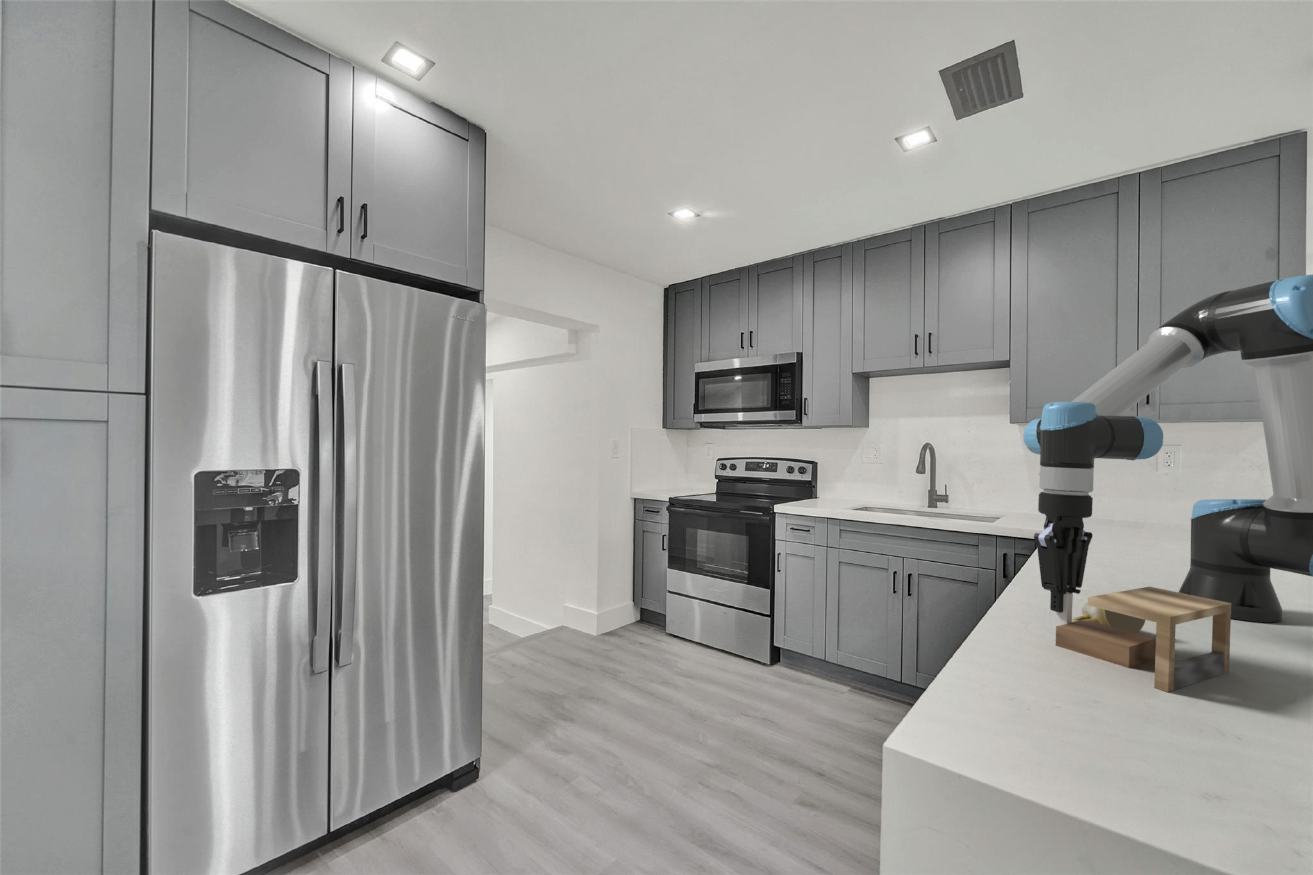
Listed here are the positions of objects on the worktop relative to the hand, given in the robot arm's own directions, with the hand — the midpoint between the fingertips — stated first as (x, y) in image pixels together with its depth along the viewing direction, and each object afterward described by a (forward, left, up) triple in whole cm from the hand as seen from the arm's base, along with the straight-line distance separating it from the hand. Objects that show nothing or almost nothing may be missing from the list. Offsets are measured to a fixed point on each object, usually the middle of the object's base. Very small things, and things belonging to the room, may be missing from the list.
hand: (1060, 629), depth 98 cm
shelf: (0, +14, -1) cm, 14 cm away
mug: (-14, 0, -2) cm, 14 cm away
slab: (0, +7, -2) cm, 7 cm away
